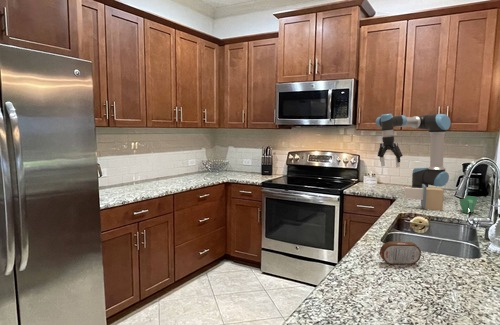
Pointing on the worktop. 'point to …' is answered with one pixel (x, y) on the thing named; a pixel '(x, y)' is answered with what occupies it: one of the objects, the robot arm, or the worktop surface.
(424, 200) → the flap
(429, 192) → the carton
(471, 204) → the mug
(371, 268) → the worktop surface
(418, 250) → the tin
